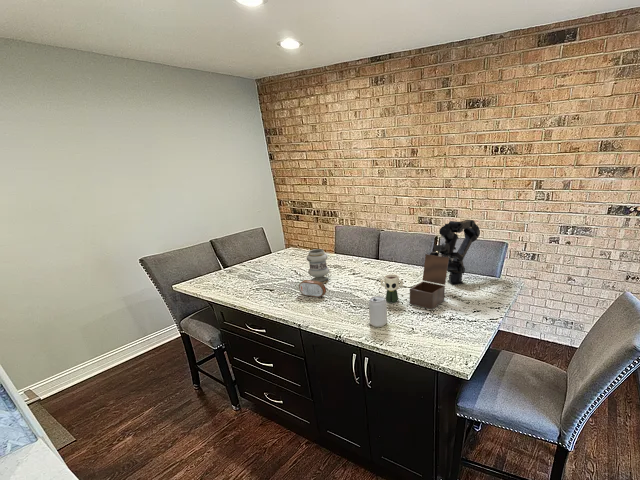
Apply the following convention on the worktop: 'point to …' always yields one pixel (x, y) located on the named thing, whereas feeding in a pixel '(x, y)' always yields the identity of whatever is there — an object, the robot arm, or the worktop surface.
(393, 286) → the character mug
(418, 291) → the box
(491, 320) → the worktop surface
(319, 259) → the apothecary jar
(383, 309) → the can
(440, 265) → the chest lid
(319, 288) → the tin
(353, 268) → the worktop surface
